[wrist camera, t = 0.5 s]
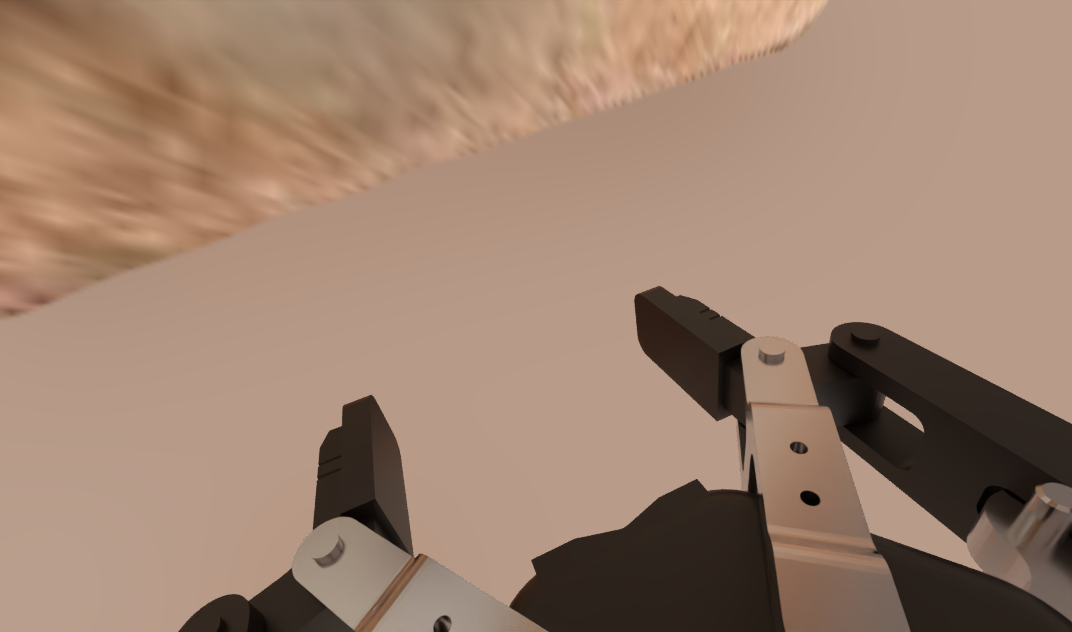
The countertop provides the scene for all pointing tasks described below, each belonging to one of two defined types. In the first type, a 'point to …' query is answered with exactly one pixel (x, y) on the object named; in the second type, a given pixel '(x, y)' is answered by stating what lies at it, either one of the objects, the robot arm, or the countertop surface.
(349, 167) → the countertop surface
